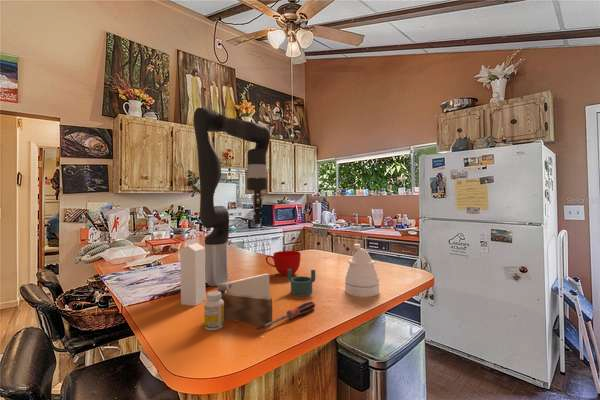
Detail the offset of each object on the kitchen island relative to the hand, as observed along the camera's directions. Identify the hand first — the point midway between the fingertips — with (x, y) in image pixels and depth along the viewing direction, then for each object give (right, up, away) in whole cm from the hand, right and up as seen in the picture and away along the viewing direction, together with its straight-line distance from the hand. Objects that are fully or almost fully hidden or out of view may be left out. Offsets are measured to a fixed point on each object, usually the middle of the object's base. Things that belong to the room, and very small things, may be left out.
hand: (257, 223), depth 109 cm
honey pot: (+40, -27, +4) cm, 48 cm away
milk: (-22, -28, -6) cm, 36 cm away
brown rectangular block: (-1, -27, -20) cm, 34 cm away
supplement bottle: (-9, -28, -26) cm, 39 cm away
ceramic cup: (+8, -27, +30) cm, 41 cm away
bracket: (+17, -27, +4) cm, 32 cm away
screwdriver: (+12, -28, -22) cm, 37 cm away
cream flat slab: (-3, -27, -11) cm, 29 cm away
